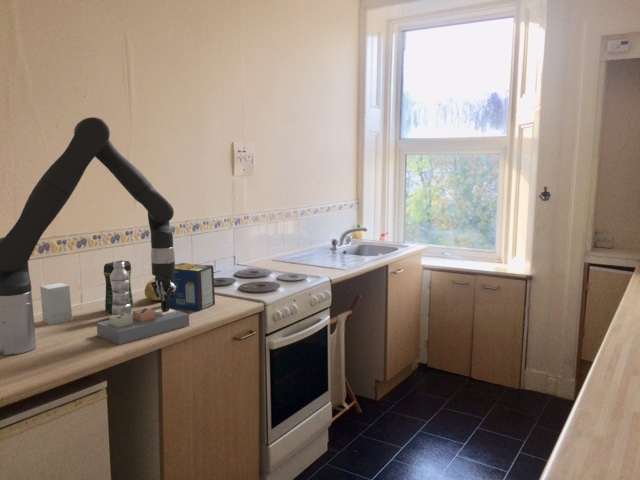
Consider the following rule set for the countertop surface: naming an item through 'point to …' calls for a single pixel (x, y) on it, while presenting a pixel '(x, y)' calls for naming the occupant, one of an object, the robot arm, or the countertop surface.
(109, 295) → the coffee jar
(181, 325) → the button panel
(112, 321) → the button two dots
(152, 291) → the potato
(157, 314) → the button one dot
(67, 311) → the supplement box
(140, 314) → the button three dots
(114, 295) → the plastic bottle
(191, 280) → the protein box
